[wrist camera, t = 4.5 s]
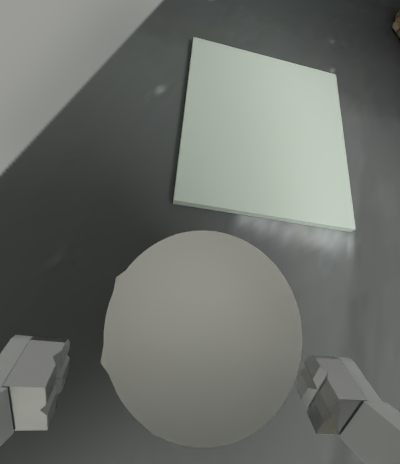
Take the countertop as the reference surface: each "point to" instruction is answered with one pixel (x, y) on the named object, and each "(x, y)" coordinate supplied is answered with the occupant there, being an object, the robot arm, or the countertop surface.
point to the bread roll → (397, 24)
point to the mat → (262, 140)
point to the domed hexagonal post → (202, 339)
